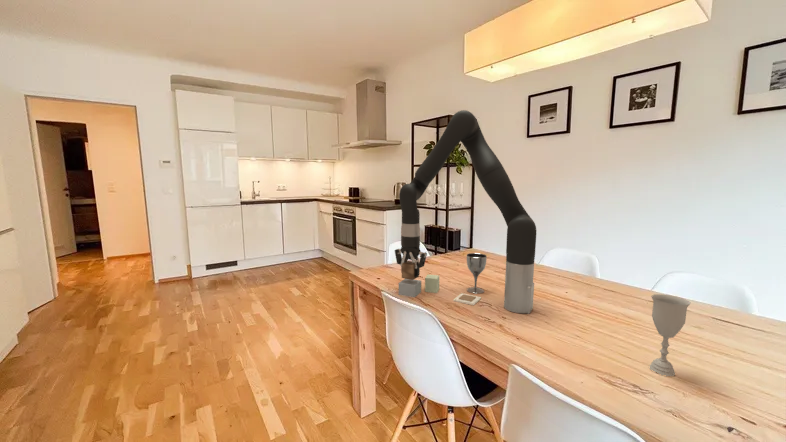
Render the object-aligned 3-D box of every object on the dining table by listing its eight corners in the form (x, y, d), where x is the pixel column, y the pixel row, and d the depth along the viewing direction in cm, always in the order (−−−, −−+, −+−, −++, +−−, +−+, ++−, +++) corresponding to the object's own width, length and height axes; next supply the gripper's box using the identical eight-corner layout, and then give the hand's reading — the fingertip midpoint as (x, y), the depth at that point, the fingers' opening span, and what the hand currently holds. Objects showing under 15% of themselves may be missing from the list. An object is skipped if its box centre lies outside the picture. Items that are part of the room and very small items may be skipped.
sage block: (439, 289, 136) (439, 275, 135) (437, 293, 131) (437, 279, 130) (427, 288, 137) (427, 274, 136) (424, 292, 132) (425, 277, 132)
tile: (480, 298, 125) (481, 296, 125) (473, 305, 118) (473, 303, 118) (461, 294, 129) (461, 292, 129) (453, 300, 122) (453, 298, 122)
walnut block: (418, 276, 130) (418, 262, 130) (412, 280, 126) (412, 265, 126) (408, 274, 133) (408, 260, 132) (401, 277, 129) (401, 263, 128)
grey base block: (421, 292, 132) (421, 280, 132) (414, 297, 126) (414, 285, 125) (405, 289, 135) (405, 278, 135) (398, 295, 129) (398, 283, 128)
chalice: (664, 362, 82) (672, 294, 79) (690, 378, 75) (699, 304, 73) (636, 362, 81) (643, 294, 79) (659, 379, 75) (668, 305, 72)
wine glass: (483, 287, 138) (484, 253, 136) (486, 294, 130) (488, 257, 128) (464, 286, 138) (465, 252, 136) (466, 293, 131) (468, 257, 129)
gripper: (431, 234, 127) (430, 276, 129) (400, 231, 135) (400, 271, 137) (421, 237, 120) (421, 281, 123) (390, 234, 128) (390, 275, 131)
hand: (410, 275), depth 130 cm, fingers closed on walnut block, 5 cm apart
